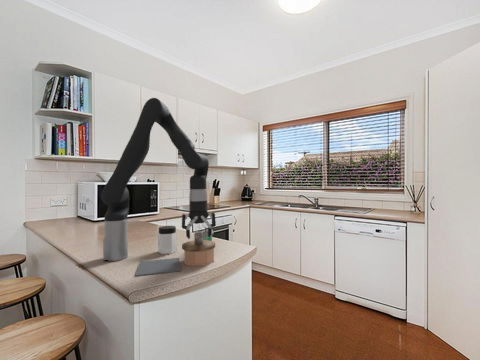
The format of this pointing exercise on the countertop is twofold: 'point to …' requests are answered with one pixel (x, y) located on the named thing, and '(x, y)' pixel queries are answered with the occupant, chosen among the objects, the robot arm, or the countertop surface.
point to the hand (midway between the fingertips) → (199, 237)
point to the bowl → (198, 257)
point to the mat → (158, 266)
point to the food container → (205, 234)
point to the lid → (198, 243)
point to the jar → (167, 240)
